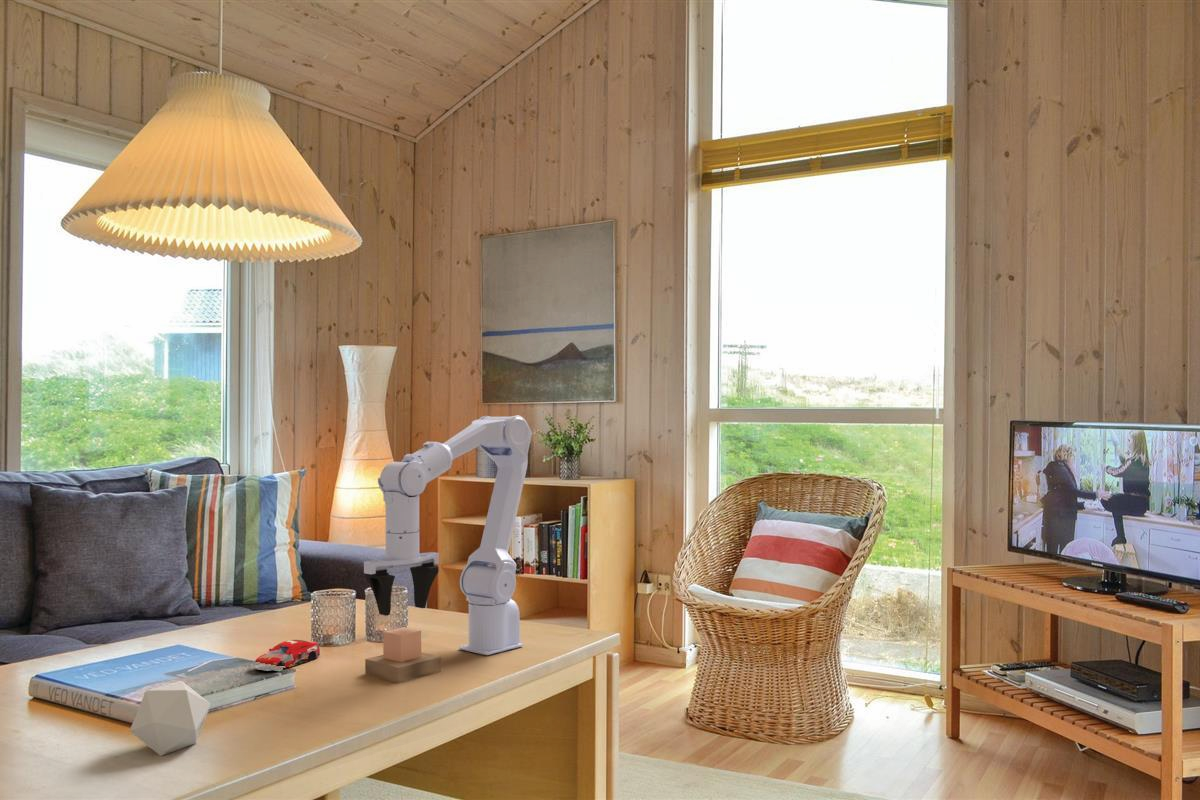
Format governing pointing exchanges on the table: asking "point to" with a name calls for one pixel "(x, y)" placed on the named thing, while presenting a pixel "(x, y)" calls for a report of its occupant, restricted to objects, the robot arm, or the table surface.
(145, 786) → the table surface
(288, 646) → the race car
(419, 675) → the walnut block
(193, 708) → the die
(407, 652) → the terracotta cube
